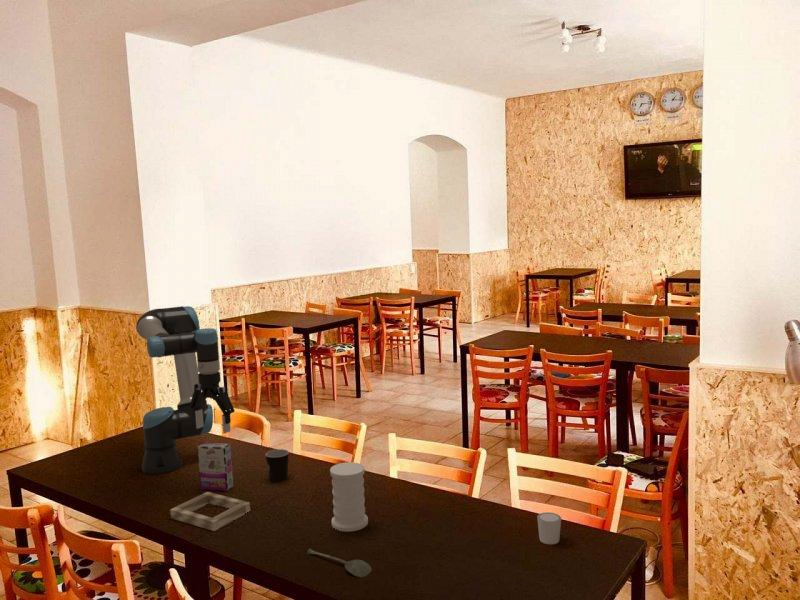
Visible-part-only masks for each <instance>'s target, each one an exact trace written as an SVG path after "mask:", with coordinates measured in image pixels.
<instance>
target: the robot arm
mask: <svg viewBox="0 0 800 600" xmlns="http://www.w3.org/2000/svg"><path fill="white" fill-rule="evenodd" d="M200 327H201V326H200V320H199V316H198V314H197V312H196V309H195V308H194V307H193V306H189V305H186V306H174V307H163V308H154V309H150V310H148V311H146V312H145V313H143V314H142V315H141V316H140V317H139V318H138V319H137V322H136V327H135V328H136V332H137V333H138V335H139V336H140V337H141V338H142V339H144V340H146V350H147V354H148V356H149V357H150V358H162V357H170V356H171V357H172V356H173V358H174V364H175V371H176V372H175V374H176V379H177V385H178V387H177V388H178V392H179V399H180V400H179V402H178V403H177V405H176V407H177V409H174V407H172V406H166V407H165V406H164V407H158V408H155V409H152V410H149V411H148V412H146V413H145V414H144V415H143V417H142V428H143V438H144V440H143V441H144V454H143V459H142V463H141V471H142V472H143V473H145V474H147V475H161V474H166V473H170V472H174V471H176V470H178V469H180V468H181V467H182V465H183V459H182V457H181V453H180V452H179V450H178V446H177V443H176V442H177V440H180V439H186V438H190V437H192V438H193V437H197V436H202V435H206V434H207V435H208V434H209V433H210V432H211V431H212V428H213V423H214V409H213V407H212V404H209V403H207V401H208V400H207V399H208V398H209V399H212V401H215V403H216V404H217V406H218V408H219V409H220V411H221V412H222V414H221V419H222V421H221V422H222V433H223V434H227V433H230V432H231V421H232V420H231V414H233V413H235V410H236V409H235V408H234V406H233V404H232V401H231V399H230V395H229V394H228V389H227V386H225V385H223V386H220V382H221V381H222V380H221V372H220V370H221V367H220V366H221V365H220V355H219V354H220V353H219V337H218V331H217V329H215V328H211V327H209V328H206V327H205V328H200Z"/></svg>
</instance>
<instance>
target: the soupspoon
mask: <svg viewBox="0 0 800 600" xmlns="http://www.w3.org/2000/svg"><path fill="white" fill-rule="evenodd" d="M307 555H317V556H322V557H325V558H328V559H331V560H334V561H337V562H340V563H342V564H344V568H345V570H346V571H347V572H348V573H350V574H351V575H353V576H355V577H357V578H364V577H367V576H368V575H370V574H371V572H372V569H373V568H372V567H371V565H370V564H369V563H368V562H367V561H364V560H362V559H351V560H349V561H346V560H345V559H341V558H338V557H335V556H333V555H332V556H331V555H329V554H326V553H321V552H318V551H315V550H313V549H312V548H309V549H308V550H307Z"/></svg>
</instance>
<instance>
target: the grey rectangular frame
mask: <svg viewBox="0 0 800 600" xmlns="http://www.w3.org/2000/svg"><path fill="white" fill-rule="evenodd" d="M206 504H207V505H213V506H216V505H217V507H220V506H221V507H220V508H224V507H225V508H224V509H226V510H225V511H223V512H221V513H220V514H218V515H215V516H213V517H210V516H207V515H203V514H201V513H197V512H195V511H197V510H199V509H201V508H203V507H204V506H207V505H206ZM227 508H229V509H227ZM169 511H170V518H171V519H172V520H176V521H179V522H183V523H185V524H190V525H191V526H195V527H199V528H202V529H206V530H209V531H213V532H215V531H218V530H219V529H221V528H222V527H224V526H226V525H228V524H230V523H232V522H233V520H234V521H235V520H237V519H239V518H241V517H243V516H244V515H246V514H248V513H249V511H250V512H251V502H249V501H245V500H243V499H242V500H241V499H239V498H234V497H230V496H225V495H223V494H222V495H221V494H217V493H214V492H211V491H206V492H203V493H202V494H200V495H197V496H195V497H193V498H192V499H190V500H188V501H185V502H183V503H181V504H178V505H176V506H175V507H173V508H171V509H170V510H169ZM247 512H248V513H247ZM245 513H246V514H245Z"/></svg>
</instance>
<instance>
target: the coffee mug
mask: <svg viewBox="0 0 800 600" xmlns="http://www.w3.org/2000/svg"><path fill="white" fill-rule="evenodd" d="M264 454H265V460H266V465H267V471H268V476H269V481H270V482H272V483H282V481H283V482H284V481H287V480H288V470H289V469H288V468H289V456H290V455H289V454H290V451H289V450H288V449H283V448H282V449H281V448H277V449H273V450H269V451H267V452H266V453H264ZM286 479H287V480H286Z"/></svg>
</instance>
